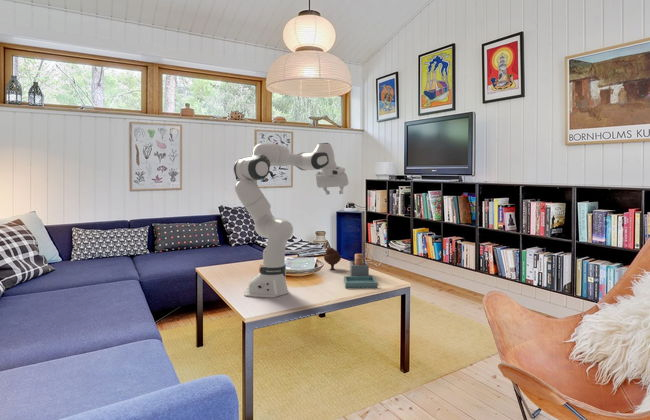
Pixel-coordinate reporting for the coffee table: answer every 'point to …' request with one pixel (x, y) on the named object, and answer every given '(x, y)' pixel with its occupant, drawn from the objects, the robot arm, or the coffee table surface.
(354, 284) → the tray
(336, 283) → the coffee table surface
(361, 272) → the grey open square box
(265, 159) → the robot arm
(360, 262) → the peg
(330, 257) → the ice cream bowl
